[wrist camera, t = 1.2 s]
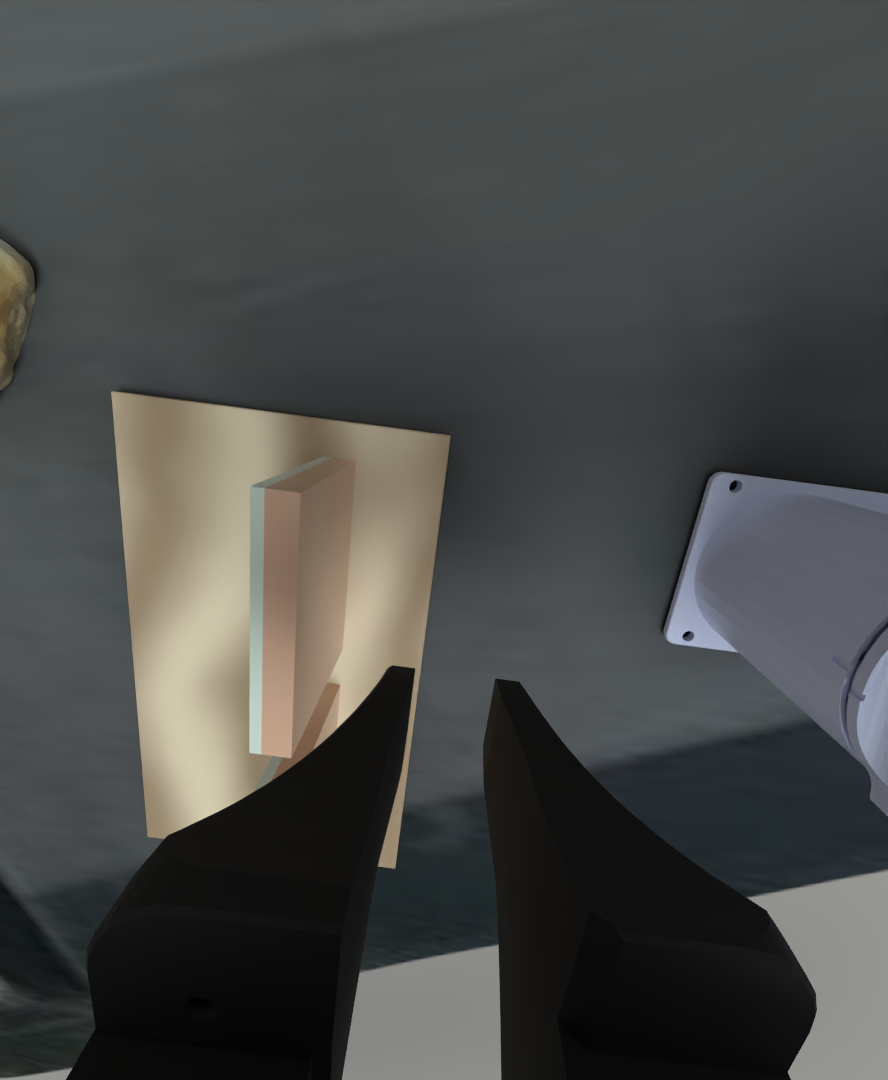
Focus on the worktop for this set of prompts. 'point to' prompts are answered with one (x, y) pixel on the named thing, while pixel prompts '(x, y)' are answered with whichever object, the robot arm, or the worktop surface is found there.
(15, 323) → the pastry
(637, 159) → the worktop surface
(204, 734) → the board
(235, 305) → the worktop surface
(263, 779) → the tile
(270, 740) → the tile
